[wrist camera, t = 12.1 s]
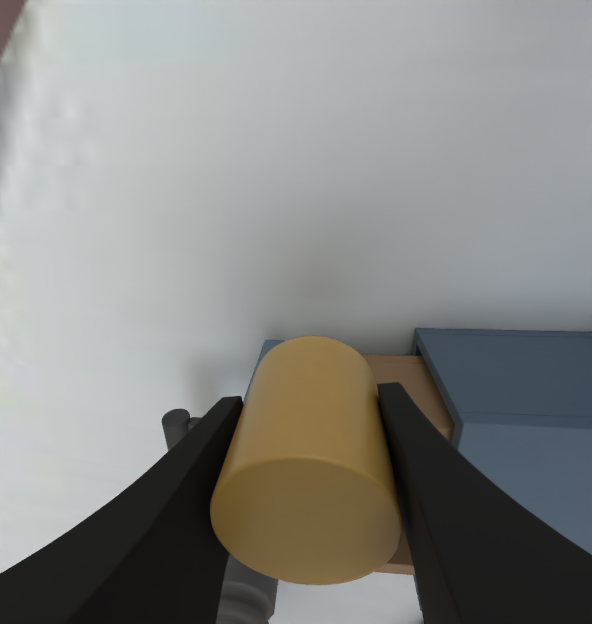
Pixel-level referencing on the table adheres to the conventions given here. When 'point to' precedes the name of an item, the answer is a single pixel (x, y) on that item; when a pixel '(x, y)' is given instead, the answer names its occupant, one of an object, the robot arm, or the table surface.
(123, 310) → the table surface
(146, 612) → the robot arm
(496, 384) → the cabinet
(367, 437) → the cylinder
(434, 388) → the drawer
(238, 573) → the candle holder
